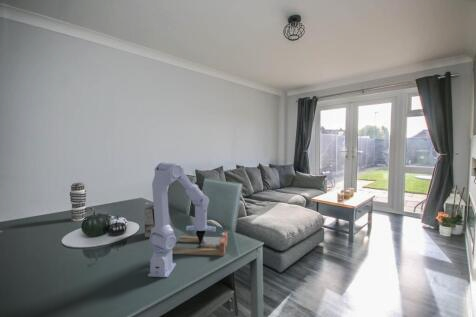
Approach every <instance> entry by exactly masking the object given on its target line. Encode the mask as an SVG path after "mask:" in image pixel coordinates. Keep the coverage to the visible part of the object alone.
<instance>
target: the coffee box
mask: <svg viewBox="0 0 476 317" xmlns="http://www.w3.org/2000/svg"><path fill="white" fill-rule="evenodd" d="M154 227H155V218H154V204H152V205H150V206H148V207H145V208H144V237H145V238H150V236H151V229H152V228H154Z"/></svg>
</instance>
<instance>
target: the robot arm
mask: <svg viewBox="0 0 476 317" xmlns="http://www.w3.org/2000/svg"><path fill="white" fill-rule="evenodd" d="M176 180H177V181H178V182H179V183H180V185H182V187H184V189H185V192H186V194H187V196H188V197H190V199H191V202H192V204H193V205H194V223H195V224H193V225H187V226H186V227H185V230H186V232H188V231H192V232H195V235H196V237H198V239H199V244H198V245H199V247H200V244H201V242H202V240H203V237H205V233H206V232H213V233H215V232H216V230H217V226H213V225H208V224H207V223H208V217H207V215H208V214H207V213H208V212H207V211H208V206H209V204H210V199H209V196H207V195H206V194H204V192H203V191H202V190H201V189H200V188H199V185H198V184H195V183H192V181H191V180H190V179H189V177H188V176H187V175H186V173H185V169H184V168H183V167H182V165H181V164H180V163H175V162H174V163H172V162H171V163H169V162H163V161H162V162H159V163H158V164H157V166H155V167H154V176H153V178H152V183H151V185H152V200H153V205H154V218H155V227H154V228H152V229H151V236H150V237H149V243H150V244H151V246H152V249H153V253H152V257H151V258H150V260H149V273H148V274H147V276H148V277H151V278H152V277H153V278H154V277H155V278H168V277H169V276H170V274H171V273H172V271H173V270H174V268H175V267H176V266H177V263H175V262H173V254H172V249H173V247H176V243H177V237H176V235H175V233H174V232H175V231H174V228H172V226H171V225H170V214H169V199H168V198H169V196H168V187H169V186H170V185H171V184H172V183H174V182H175V181H176Z"/></svg>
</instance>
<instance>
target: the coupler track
mask: <svg viewBox="0 0 476 317" xmlns="http://www.w3.org/2000/svg"><path fill="white" fill-rule="evenodd" d="M228 234H229V232H228V230H224V231H223V234H222V236H221V237H222V239H221V242H220V249H211V248H200V247H185V246H183V247H179V246H174V247H173V249H172V255H173V254H174V255H198V256H219V257H224V256H225V253H226V250H227V246H228V242H229V240H228V239H229V236H228ZM204 237H205V236H204ZM204 237H203V238H204ZM179 242H180V243H197V244H198V243H199V239H198V237H197V236H187V235H183V236H182V235H181V236H179Z"/></svg>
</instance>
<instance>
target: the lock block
mask: <svg viewBox="0 0 476 317" xmlns="http://www.w3.org/2000/svg"><path fill="white" fill-rule="evenodd" d="M221 239H222V236H204V238H203V240H202V242H201V244H200V246H199V248H211V249H220V242H221Z"/></svg>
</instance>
